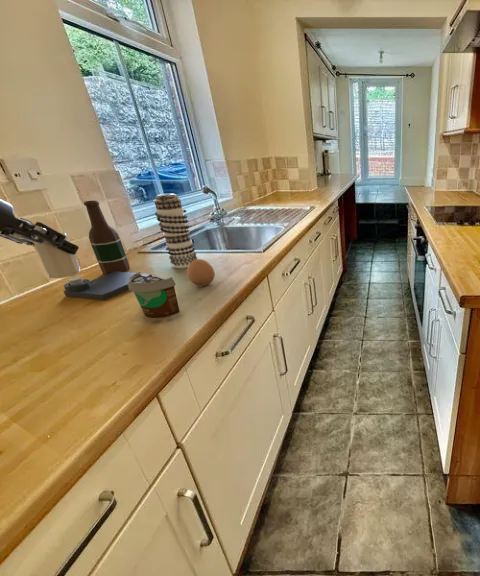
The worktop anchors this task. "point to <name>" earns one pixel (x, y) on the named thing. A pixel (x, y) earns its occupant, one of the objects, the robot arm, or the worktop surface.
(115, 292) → the scale
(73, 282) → the tare button
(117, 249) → the beer bottle
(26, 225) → the robot arm
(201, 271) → the egg
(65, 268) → the cup
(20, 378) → the worktop surface
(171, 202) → the white patterned cylinder
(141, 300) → the food container
